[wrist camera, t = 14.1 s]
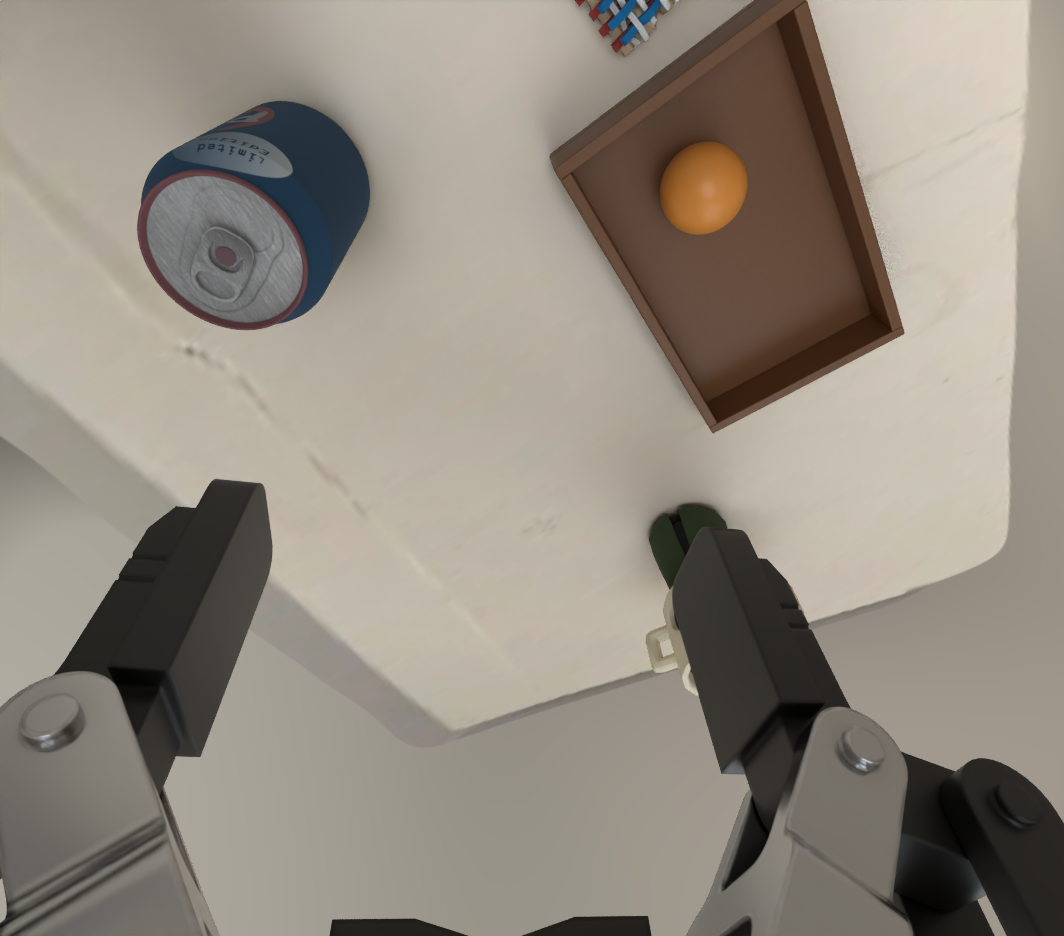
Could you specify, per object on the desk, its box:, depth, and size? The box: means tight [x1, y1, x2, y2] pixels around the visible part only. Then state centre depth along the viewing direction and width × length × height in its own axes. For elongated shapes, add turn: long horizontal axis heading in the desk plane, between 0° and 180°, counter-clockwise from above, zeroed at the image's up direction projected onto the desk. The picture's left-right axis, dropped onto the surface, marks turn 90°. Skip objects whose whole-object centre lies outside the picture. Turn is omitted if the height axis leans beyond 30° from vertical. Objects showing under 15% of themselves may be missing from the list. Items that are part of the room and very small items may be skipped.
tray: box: [550, 0, 904, 433], centre depth 33 cm, size 19×12×3 cm, turn 34°
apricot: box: [660, 141, 747, 235], centre depth 30 cm, size 4×4×4 cm
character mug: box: [646, 506, 804, 696], centre depth 44 cm, size 11×7×13 cm, turn 121°
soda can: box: [137, 101, 370, 330], centre depth 26 cm, size 7×7×12 cm
